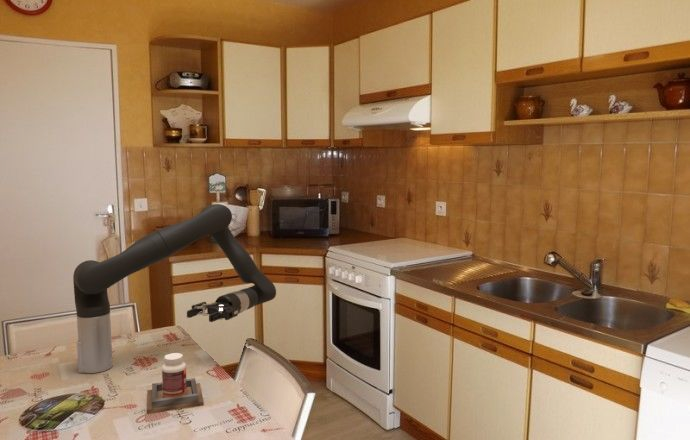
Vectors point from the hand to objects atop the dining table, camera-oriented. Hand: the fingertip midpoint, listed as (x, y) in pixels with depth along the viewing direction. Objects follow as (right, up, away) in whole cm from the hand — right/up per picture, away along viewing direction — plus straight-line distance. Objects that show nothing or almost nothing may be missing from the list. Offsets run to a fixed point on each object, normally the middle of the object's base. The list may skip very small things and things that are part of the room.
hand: (198, 316), depth 156 cm
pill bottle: (-2, -19, -16) cm, 24 cm away
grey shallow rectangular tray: (-2, -19, -16) cm, 25 cm away
